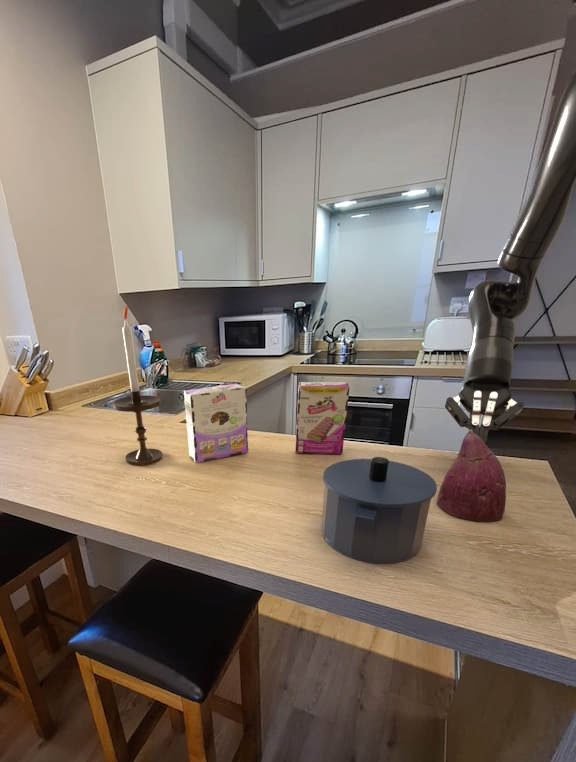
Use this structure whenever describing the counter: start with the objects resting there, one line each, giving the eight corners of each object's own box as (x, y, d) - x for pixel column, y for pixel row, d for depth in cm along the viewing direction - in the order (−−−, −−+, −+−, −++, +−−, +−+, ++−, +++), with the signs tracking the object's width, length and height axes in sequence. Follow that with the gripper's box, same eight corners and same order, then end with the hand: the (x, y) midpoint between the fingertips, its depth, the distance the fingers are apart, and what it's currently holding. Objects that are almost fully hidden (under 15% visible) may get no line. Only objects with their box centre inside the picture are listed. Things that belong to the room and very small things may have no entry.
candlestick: (169, 449, 102) (153, 302, 87) (162, 466, 92) (144, 303, 77) (128, 451, 102) (105, 304, 87) (117, 467, 92) (89, 306, 77)
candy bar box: (295, 454, 95) (298, 386, 88) (295, 447, 99) (297, 381, 92) (343, 455, 93) (350, 385, 86) (341, 447, 97) (347, 381, 90)
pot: (424, 515, 67) (434, 464, 63) (415, 587, 51) (428, 525, 47) (337, 499, 73) (341, 452, 69) (305, 558, 58) (309, 502, 54)
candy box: (239, 446, 102) (237, 382, 94) (248, 453, 97) (247, 386, 89) (188, 455, 97) (182, 389, 90) (195, 463, 92) (190, 394, 85)
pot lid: (437, 473, 61) (442, 448, 59) (433, 521, 49) (439, 492, 47) (335, 459, 68) (337, 437, 66) (310, 498, 56) (311, 472, 54)
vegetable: (424, 517, 72) (412, 439, 68) (465, 498, 75) (456, 422, 71) (479, 533, 62) (469, 443, 59) (523, 510, 65) (517, 423, 62)
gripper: (452, 354, 76) (438, 433, 72) (536, 356, 70) (526, 442, 66) (447, 376, 83) (433, 450, 78) (523, 380, 77) (514, 460, 73)
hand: (476, 446), depth 72 cm, fingers closed
